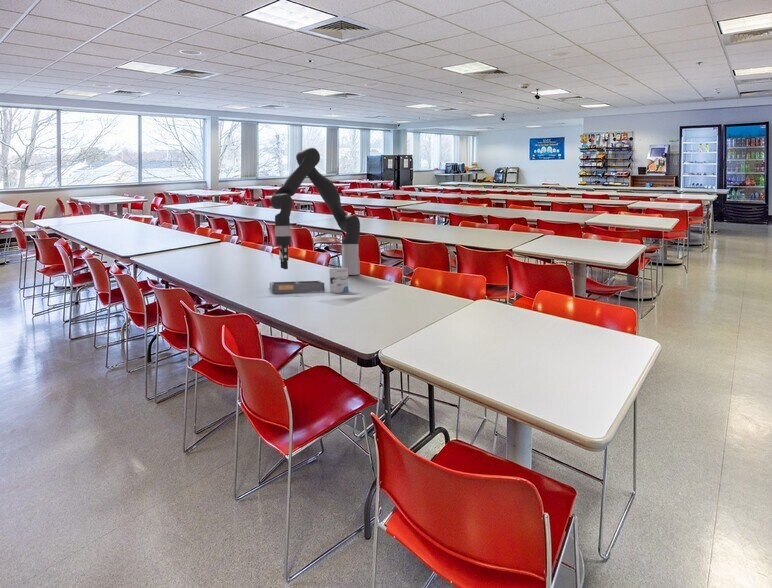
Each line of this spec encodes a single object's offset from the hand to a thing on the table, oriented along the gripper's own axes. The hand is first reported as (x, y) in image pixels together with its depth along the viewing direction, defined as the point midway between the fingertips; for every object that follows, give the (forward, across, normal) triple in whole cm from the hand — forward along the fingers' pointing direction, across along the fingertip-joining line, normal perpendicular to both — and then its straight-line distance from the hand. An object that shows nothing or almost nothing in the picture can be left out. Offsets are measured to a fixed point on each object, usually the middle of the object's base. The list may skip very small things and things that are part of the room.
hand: (284, 268), depth 235 cm
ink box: (+12, -10, -25) cm, 29 cm away
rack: (+12, 0, -6) cm, 13 cm away
